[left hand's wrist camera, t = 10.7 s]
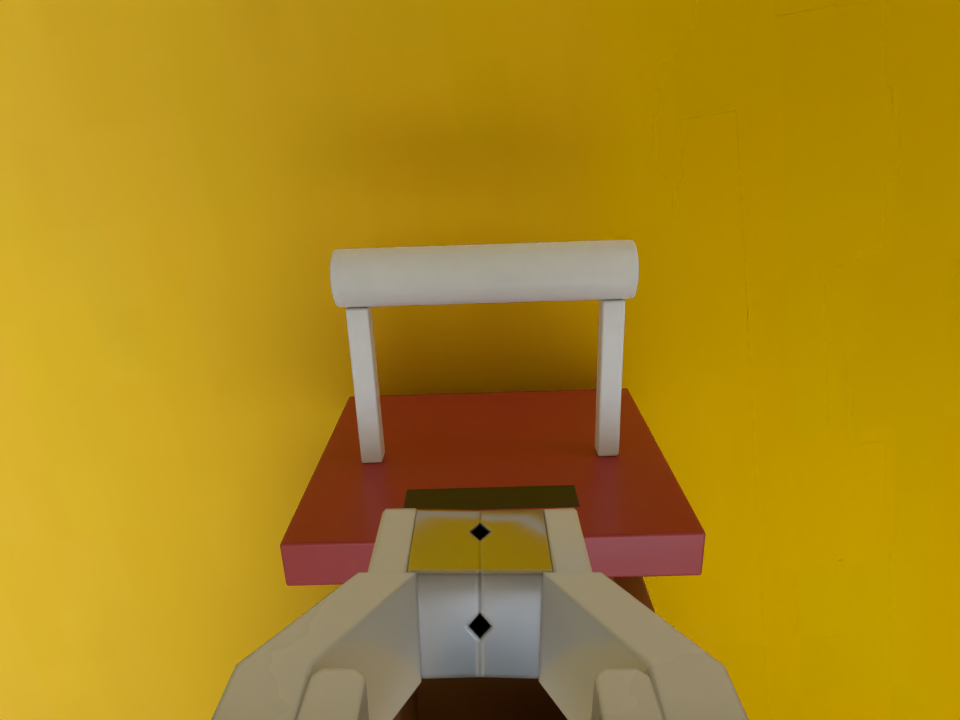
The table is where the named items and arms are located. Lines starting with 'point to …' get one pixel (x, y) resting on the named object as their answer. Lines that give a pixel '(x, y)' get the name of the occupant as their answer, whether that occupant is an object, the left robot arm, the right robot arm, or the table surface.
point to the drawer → (492, 443)
